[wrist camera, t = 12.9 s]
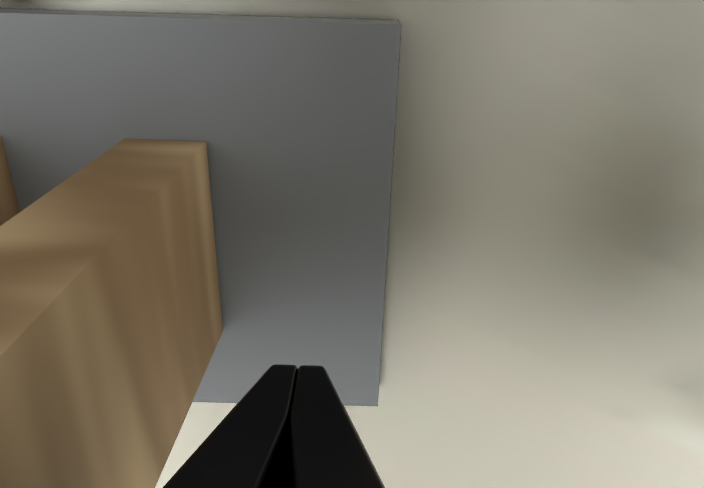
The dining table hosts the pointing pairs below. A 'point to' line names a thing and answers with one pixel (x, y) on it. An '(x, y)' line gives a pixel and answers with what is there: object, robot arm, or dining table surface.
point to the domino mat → (235, 162)
